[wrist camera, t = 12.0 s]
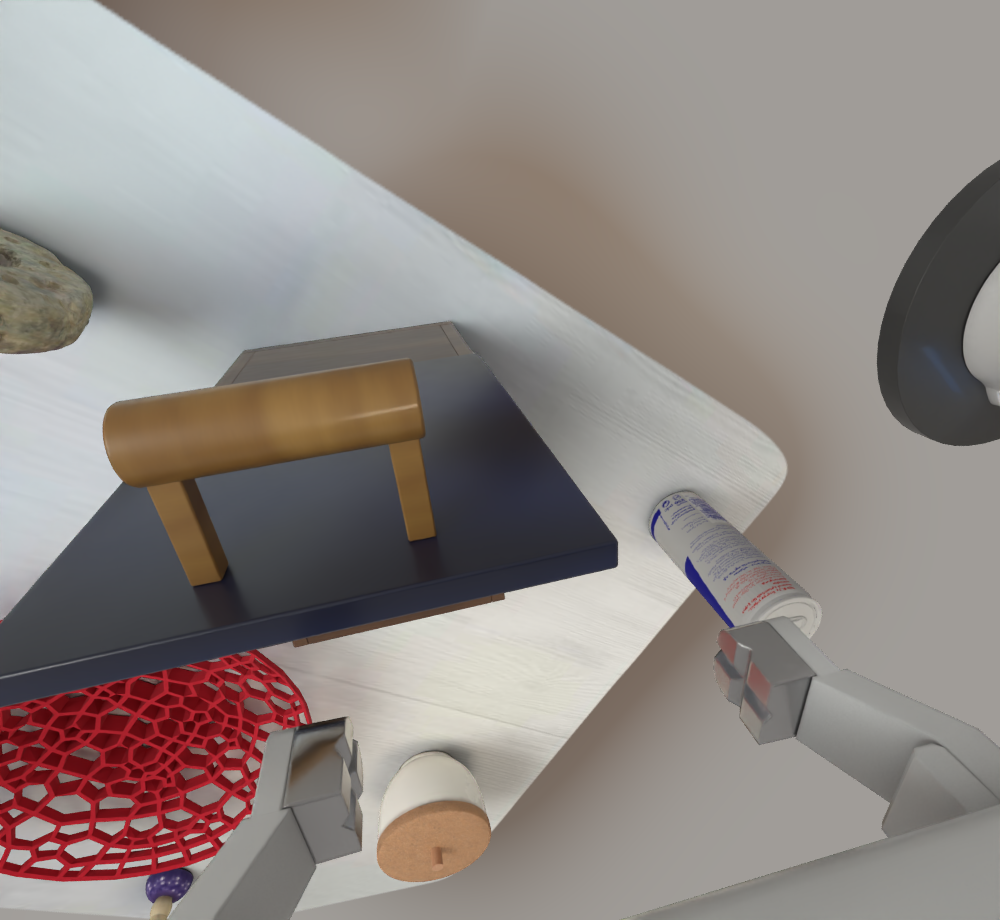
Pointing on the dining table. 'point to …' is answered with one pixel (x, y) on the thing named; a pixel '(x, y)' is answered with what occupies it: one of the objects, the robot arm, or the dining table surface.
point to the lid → (298, 521)
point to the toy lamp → (166, 891)
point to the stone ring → (38, 298)
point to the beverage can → (728, 566)
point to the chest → (345, 353)
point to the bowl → (138, 763)
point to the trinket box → (431, 820)
